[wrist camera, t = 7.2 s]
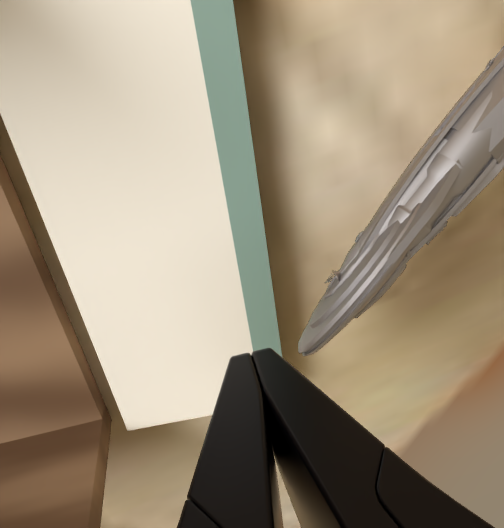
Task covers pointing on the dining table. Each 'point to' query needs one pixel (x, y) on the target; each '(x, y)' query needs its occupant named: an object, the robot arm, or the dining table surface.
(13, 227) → the crate
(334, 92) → the dining table surface
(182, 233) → the tailgate
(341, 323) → the spaceship
